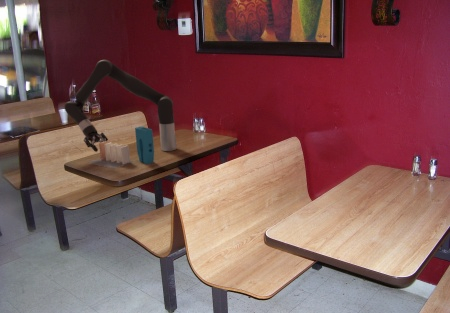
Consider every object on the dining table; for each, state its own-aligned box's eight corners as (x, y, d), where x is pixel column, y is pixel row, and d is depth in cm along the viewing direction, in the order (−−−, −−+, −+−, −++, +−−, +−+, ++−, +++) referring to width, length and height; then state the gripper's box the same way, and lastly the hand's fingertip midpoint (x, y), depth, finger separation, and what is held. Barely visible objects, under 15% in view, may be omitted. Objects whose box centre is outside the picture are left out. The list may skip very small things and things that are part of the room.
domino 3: (116, 162, 267) (115, 146, 264) (123, 160, 271) (121, 144, 268) (118, 163, 267) (116, 146, 264) (124, 160, 270) (122, 144, 268)
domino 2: (111, 161, 270) (109, 145, 267) (117, 159, 274) (116, 143, 271) (112, 162, 269) (111, 145, 266) (119, 159, 273) (117, 143, 270)
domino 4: (122, 164, 265) (120, 147, 262) (128, 161, 269) (127, 145, 266) (123, 164, 264) (122, 147, 261) (130, 162, 268) (128, 145, 265)
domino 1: (106, 160, 272) (104, 144, 269) (112, 158, 276) (110, 142, 273) (107, 160, 271) (105, 144, 269) (113, 158, 275) (112, 142, 272)
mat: (86, 163, 269) (86, 162, 269) (106, 156, 281) (106, 156, 281) (114, 169, 257) (114, 168, 257) (133, 162, 269) (133, 161, 268)
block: (155, 163, 265) (152, 129, 259) (148, 165, 262) (145, 131, 256) (144, 159, 274) (142, 126, 268) (137, 160, 271) (134, 127, 265)
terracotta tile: (100, 159, 275) (99, 143, 272) (107, 157, 279) (105, 141, 276) (102, 159, 274) (100, 143, 271) (108, 157, 278) (106, 141, 275)
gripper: (80, 127, 270) (95, 148, 267) (99, 122, 281) (114, 142, 278) (75, 134, 274) (90, 156, 272) (94, 129, 286) (109, 150, 283)
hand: (102, 149), depth 275 cm, fingers open, 8 cm apart
